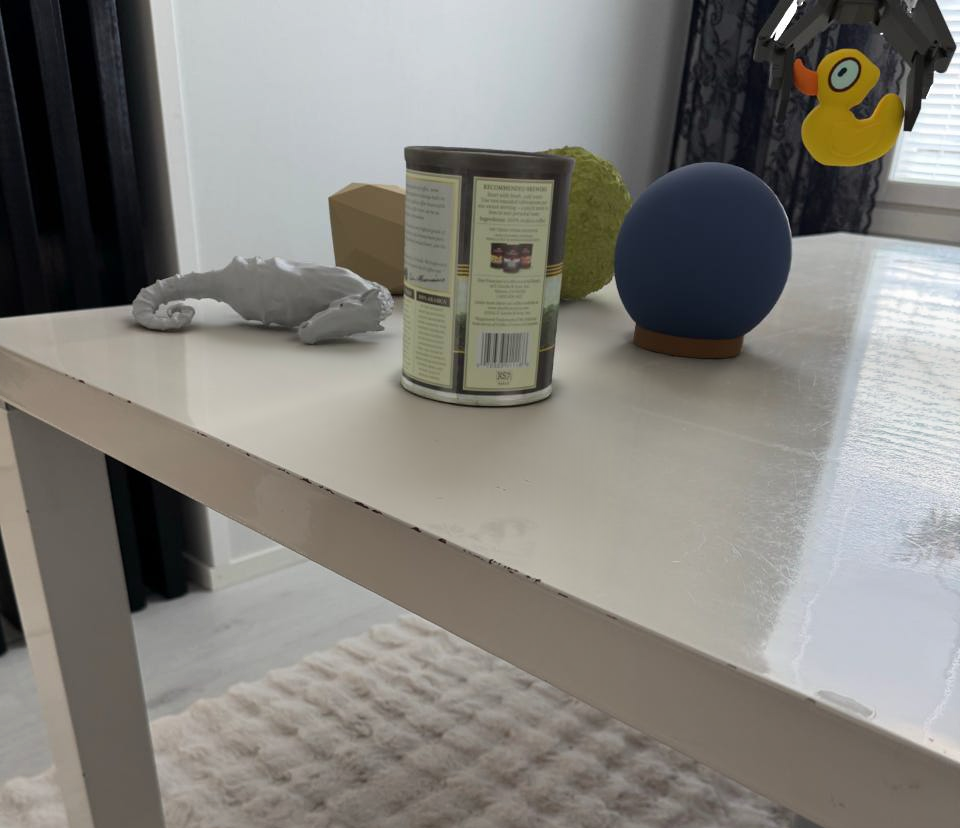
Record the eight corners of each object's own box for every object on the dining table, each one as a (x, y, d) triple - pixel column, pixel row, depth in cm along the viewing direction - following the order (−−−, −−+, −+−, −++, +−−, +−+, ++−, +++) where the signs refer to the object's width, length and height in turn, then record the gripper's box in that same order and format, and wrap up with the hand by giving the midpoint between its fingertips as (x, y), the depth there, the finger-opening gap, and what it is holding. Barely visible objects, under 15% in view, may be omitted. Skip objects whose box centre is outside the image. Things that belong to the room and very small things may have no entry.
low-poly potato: (297, 289, 94) (322, 245, 83) (317, 183, 94) (345, 126, 84) (438, 334, 99) (480, 299, 89) (457, 233, 100) (500, 186, 89)
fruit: (440, 292, 95) (453, 142, 96) (530, 334, 106) (541, 199, 106) (572, 258, 85) (585, 89, 85) (656, 309, 95) (668, 159, 95)
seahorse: (117, 326, 68) (397, 294, 70) (125, 246, 75) (378, 219, 77) (139, 388, 72) (403, 355, 74) (144, 306, 79) (384, 279, 81)
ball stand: (765, 340, 86) (801, 166, 79) (778, 375, 73) (821, 173, 67) (609, 324, 87) (631, 153, 81) (596, 356, 75) (620, 157, 69)
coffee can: (476, 361, 70) (490, 147, 64) (583, 393, 64) (611, 159, 57) (366, 378, 64) (368, 141, 57) (473, 416, 58) (490, 155, 51)
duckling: (777, 162, 94) (799, 43, 90) (772, 160, 99) (792, 47, 94) (896, 170, 93) (925, 50, 88) (885, 168, 98) (912, 54, 93)
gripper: (969, -14, 100) (960, 155, 94) (738, -25, 103) (715, 138, 97) (999, -87, 92) (993, 91, 87) (750, -96, 96) (727, 74, 90)
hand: (846, 116), depth 92 cm, fingers closed on duckling, 11 cm apart
